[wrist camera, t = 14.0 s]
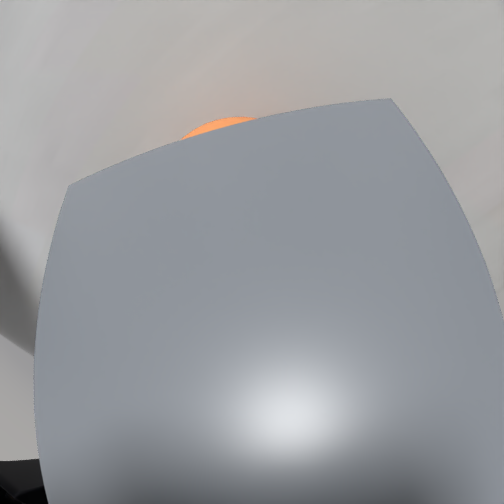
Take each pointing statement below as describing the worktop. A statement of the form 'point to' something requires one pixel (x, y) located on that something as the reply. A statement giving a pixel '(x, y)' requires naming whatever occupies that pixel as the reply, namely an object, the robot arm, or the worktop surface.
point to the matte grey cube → (271, 324)
